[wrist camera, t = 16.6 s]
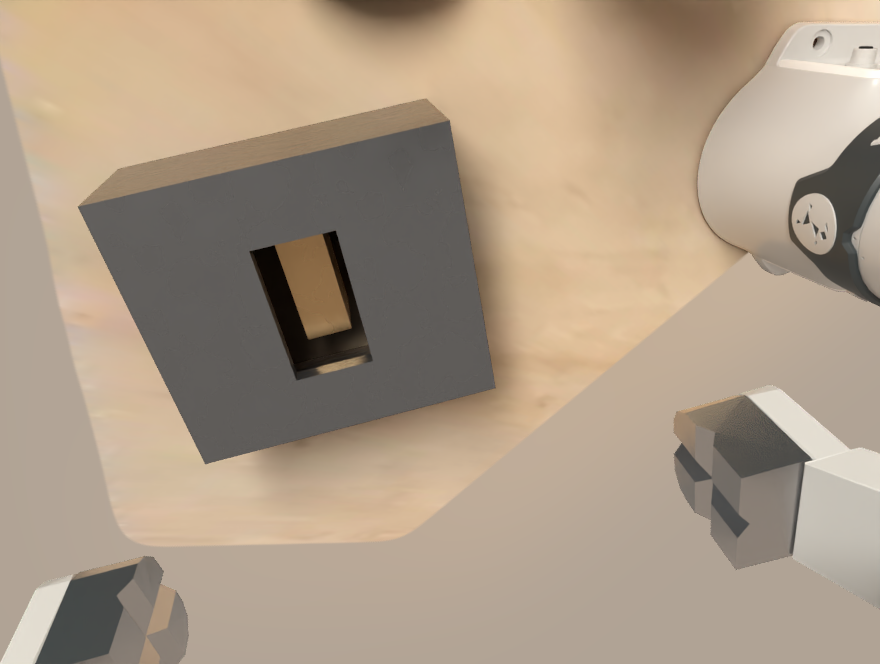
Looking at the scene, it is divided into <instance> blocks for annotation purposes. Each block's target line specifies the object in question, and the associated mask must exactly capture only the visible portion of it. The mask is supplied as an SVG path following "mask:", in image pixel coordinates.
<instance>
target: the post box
mask: <svg viewBox="0 0 880 664" xmlns="http://www.w3.org/2000/svg"><path fill="white" fill-rule="evenodd" d="M78 208H79V210H80V212H81V214H82V216H83V218H84V220H85V222H86V224H87V226H88V228H89V230H90V232H91V234H92V237H93V239H94V241H95V243H96V245H97V247H98V249H99V251H100V253H101V255H102V257H103V259H104V261H105V263H106V265H107V267H108V269H109V271H110V273H111V275H112V277H113V279H114V281H115V283H116V285H117V287H118V289H119V291H120V293H121V295H122V297H123V299H124V301H125V303H126V305H127V307H128V309H129V311H130V313H131V315H132V317H133V319H134V321H135V323H136V325H137V327H138V329H139V331H140V333H141V335H142V337H143V339H144V341H145V343H146V345H147V347H148V349H149V351H150V353H151V356H152V358H153V360H154V362H155V364H156V366H157V368H158V370H159V372H160V374H161V376H162V378H163V380H164V382H165V384H166V386H167V388H168V390H169V392H170V394H171V396H172V398H173V400H174V402H175V404H176V406H177V408H178V410H179V412H180V414H181V416H182V418H183V420H184V422H185V424H186V426H187V428H188V430H189V432H190V434H191V436H192V438H193V440H194V442H195V444H196V446H197V448H198V450H199V452H200V454H201V456H202V458H203V460H204V462H205V464H208V463H211V462H215V461H219V460H223V459H227V458H231V457H234V456H238V455H242V454H246V453H250V452H253V451H257V450H261V449H265V448H269V447H273V446H276V445H280V444H284V443H288V442H292V441H295V440H299V439H303V438H307V437H311V436H314V435H318V434H322V433H326V432H330V431H334V430H337V429H341V428H345V427H349V426H353V425H356V424H360V423H364V422H368V421H372V420H375V419H379V418H383V417H387V416H391V415H395V414H398V413H402V412H406V411H410V410H414V409H417V408H421V407H425V406H429V405H433V404H436V403H440V402H444V401H448V400H452V399H456V398H459V397H463V396H467V395H471V394H475V393H478V392H482V391H486V390H490V389H494V388H495V382H494V376H493V370H492V365H491V359H490V353H489V347H488V341H487V336H486V330H485V324H484V318H483V312H482V306H481V301H480V295H479V289H478V283H477V277H476V272H475V266H474V260H473V254H472V248H471V242H470V237H469V231H468V225H467V219H466V213H465V208H464V202H463V196H462V190H461V184H460V178H459V173H458V167H457V161H456V155H455V149H454V144H453V138H452V132H451V126H450V120H449V119H447V118H446V117H445V116H444V115H443V114H442V113H441V112H440V111H439V110H438V109H437V108H436V107H435V106H433V105H432V104H431V103H430V102H429V101H428V100H427V99H422V100H418V101H413V102H409V103H405V104H400V105H396V106H392V107H387V108H383V109H378V110H374V111H370V112H365V113H361V114H357V115H352V116H348V117H344V118H339V119H335V120H330V121H326V122H322V123H317V124H313V125H309V126H304V127H300V128H296V129H291V130H287V131H282V132H278V133H274V134H269V135H265V136H261V137H256V138H252V139H248V140H243V141H239V142H234V143H230V144H226V145H221V146H217V147H213V148H208V149H204V150H199V151H195V152H191V153H186V154H182V155H178V156H173V157H169V158H165V159H160V160H156V161H151V162H147V163H143V164H138V165H134V166H130V167H125V168H121V169H118V170H117V171H116V172H115V173H114V174H113V175H112V176H110V177H109V178H108V179H107V180H106V181H105V182H104V183H103V184H102V185H101V186H100V187H99V188H97V189H96V190H95V191H94V192H93V193H92V194H91V195H90V196H89V197H88V198H87V199H86V200H84V201H83V202H82V203H81V204H80V205H79V206H78ZM331 231H336V233H337V236H338V240H339V243H340V247H341V250H342V254H343V257H344V261H345V264H346V268H347V271H348V275H349V278H350V282H351V285H352V289H353V292H354V296H355V299H356V303H357V306H358V310H359V313H360V317H361V320H362V324H363V327H364V331H365V334H366V338H367V341H368V345H367V346H363V347H359V348H355V349H351V350H347V351H343V352H339V353H335V354H331V355H328V356H324V357H320V358H316V359H312V360H308V361H304V362H300V363H296V364H293V361H292V358H291V355H290V353H289V350H288V347H287V344H286V342H285V339H284V336H283V333H282V330H281V328H280V325H279V322H278V319H277V317H276V314H275V311H274V308H273V306H272V303H271V300H270V297H269V295H268V292H267V289H266V286H265V284H264V281H263V278H262V275H261V273H260V270H259V267H258V264H257V262H256V259H255V256H254V253H253V250H257V249H261V248H265V247H269V246H273V245H277V244H282V243H286V242H290V241H294V240H298V239H302V238H307V237H311V236H315V235H319V234H323V233H327V232H331Z"/></svg>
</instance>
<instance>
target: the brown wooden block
mask: <svg viewBox="0 0 880 664" xmlns="http://www.w3.org/2000/svg"><path fill="white" fill-rule="evenodd" d="M275 248H276V251H277V253H278V256H279V259H280V262H281V265H282V267H283V270H284V273H285V276H286V279H287V282H288V284H289V287H290V290H291V293H292V296H293V298H294V301H295V304H296V307H297V310H298V312H299V315H300V318H301V321H302V324H303V327H304V329H305V332H306V335H307V338H308V340H309V339H313V338H317V337H321V336H325V335H328V334H332V333H336V332H340V331H344V330H347V329H351V328H352V327H351V319H350V310H349V302H348V296H347V293H346V290H345V286H344V283H343V280H342V277H341V273H340V270H339V267H338V263H337V260H336V257H335V254H334V250H333V247H332V244H331V240H330V237H329V234H328V232H327V233H323V234H319V235H315V236H311V237H307V238H302V239H298V240H294V241H290V242H286V243H282V244H277V245H275Z"/></svg>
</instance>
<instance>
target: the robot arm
mask: <svg viewBox="0 0 880 664" xmlns="http://www.w3.org/2000/svg"><path fill="white" fill-rule="evenodd" d="M816 37H817V43H816V45H815V46H814V47H813V42H814V40H815V38H816ZM697 188H698V198H699V203H700V207H701V210H702V213H703V215H704V217H705V219H706V221H707V223H708V224H709V226H710V227H711V229H712V230H713V231H714V232H715V233H716V234H717V235H718V236H719V237H720V238H722V239H723V240H725V241H726V242H728V243H730V244H732V245H734V246H737V247H739V248H742V249H744V250H746V251H748V252H749V253H751V254H752V256H753V257H754V259H755V260H756V261H757V263H758V264H759V265H760V266H761V267H762V268H763V269H764V270H765V271H767V272H769V273H772V274H774V275H783V274H786V273H788V272H792V273H794V274H796V275H799V276H801V277H803V278H806V279H808V280H810V281H813V282H815V283H817V284H820V285H822V286H824V287H827V288H829V289H832V290H835V291H838V292H848V293H850V294H852V295H853V296H855V297H857V298H859V299H861V300H864V301H869V302H871V303H874V304H876V305H878V306H880V22H798V23H795V24H793V25H792V26H790V27H789V28H788V29H787V30H786V31H785V32H784V34H783V35H782V36H781V38H780V39H779V41H778V43H777V44H776V46H775V47H774V49H773V51H772V53H771V54H770V56H769V58H768V60H767V62H766V64H765V65H764V67H763V68H762V69H761V70H760V71H759V72H758V73H757V74H756V75H755V77H753V78H752V79H751V80H750V81H749V82H748V83H747V84H746V85H745V86H744V87H743V88H742V89H741V90H740V91H739V92H738V93H737V94H736V95H735V96H734V97H733V98H732V99H731V101H730V102H729V103H728V104H727V106H726V107H725V108H724V110H723V111H722V113H721V114H720V115H719V117H718V119H717V120H716V122H715V124H714V125H713V127H712V129H711V131H710V133H709V136H708V138H707V140H706V143H705V145H704V148H703V152H702V155H701V159H700V164H699V169H698V180H697ZM674 433H675V435H676V436H677V437H678V438H679V440H680V441H681V442H682V443H681V445H680V446H679V448H678V449H677V451H676V452H675V454H674V463H675V472H676V476H677V479H678V483H679V486H680V489H681V491H682V492H683V494H684V496H685V498H686V500H687V501H688V503H689V505H690V506H691V508H692V509H693V510H694V512H695V513H697V514H699V515H701V516H703V517H706V518H708V519H710V520H711V536H712V537H713V539H714V540H715V542H716V543H717V544H718V546H719V547H720V548H721V550H722V551H723V553H724V554H725V555H726V557H727V558H728V560H729V561H730V562H731V563H732V565H733V566H734V568H735V569H736V570H737V569H741V568H745V567H749V566H753V565H757V564H761V563H765V562H769V561H773V560H777V559H780V558H784V557H788V556H792V555H793V559H794V560H796V561H798V562H799V563H801V564H803V565H805V566H806V567H808V568H810V569H812V570H813V571H815V572H817V573H818V574H820V575H822V576H823V577H825V578H827V579H829V580H830V581H832V582H834V583H836V584H837V585H839V586H841V587H843V588H844V589H846V590H848V591H849V592H851V593H853V594H854V595H856V596H858V597H860V598H861V599H863V600H865V601H866V602H868V603H870V604H872V605H873V606H875V607H877V608H879V609H880V454H879V453H876V452H873V451H870V450H867V449H864V448H861V447H860V448H857V449H853V450H850V449H849V448H848V447H847V446H846V445H844V444H843V443H842V442H841V441H840V440H839V439H837V438H836V437H835V436H834V435H833V434H832V433H830V432H829V431H828V430H827V429H826V428H825V427H823V426H822V425H821V424H820V423H819V422H817V420H815V419H814V418H813V417H812V416H811V415H809V414H808V413H807V412H806V411H805V410H804V409H803V408H802V407H800V406H799V405H798V404H797V403H795V401H793V400H792V399H791V398H790V397H789V396H788V395H787V394H785V393H784V392H783V391H782V390H781V389H779V388H778V387H775V386H772V385H768V386H765V387H761V388H758V389H754V390H751V391H747V392H744V393H741V394H739V395H735V396H731V397H728V398H724V399H721V400H717V401H713V402H710V403H706V404H703V405H699V406H695V407H692V408H689V409H685V410H681V411H678V412H676V415H675V418H674ZM163 572H164V571H163V570H162V568H161V567H160V566H159V564H158V563H157V561H156V560H155V559H154V557H147V556H143V557H139V558H135V559H131V560H127V561H124V562H119V563H115V564H111V565H107V566H103V567H99V568H95V569H91V570H87V571H83V572H79V573H78V574H74V575H70V576H66V577H62V578H57V579H53V580H49V581H45V582H44V583H43V584H42V585H41V586H39V587H38V588H37V589H36V590H35V592H34V594H33V597H32V598H31V600H30V603H29V605H28V607H27V609H26V611H25V613H24V615H23V617H22V619H21V621H20V623H19V625H18V627H17V630H16V632H15V634H14V636H13V638H12V640H11V642H10V644H9V646H8V648H7V650H6V652H5V655H4V657H3V659H2V661H1V663H0V664H178V663H179V662H180V660H181V659H182V658H183V657H184V655H185V653H186V647H187V641H188V617H187V613H186V610H185V607H184V604H183V601H182V599H181V598H180V596H179V595H178V593H177V592H176V590H173V589H171V588H169V587H166V586H164V585H162V584H160V583H161V580H162V576H163Z"/></svg>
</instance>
